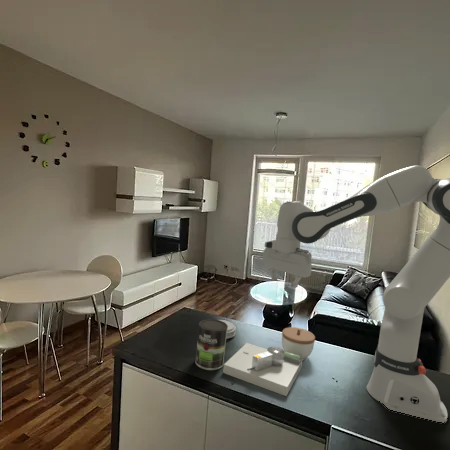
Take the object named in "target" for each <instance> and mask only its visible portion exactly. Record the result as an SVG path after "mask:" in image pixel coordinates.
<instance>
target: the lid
mask: <svg viewBox="0 0 450 450" xmlns="http://www.w3.org/2000/svg"><path fill="white" fill-rule="evenodd" d="M218 320H219V321H222V322H224V323H226V324H227V326H228V328H227V335H226V340H227V339H231V338H234V337H235V335H236V330H237V327H236V325H235V324H234V323H232V321H228V320H224V319H218Z"/></svg>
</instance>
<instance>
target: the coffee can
mask: <svg viewBox="0 0 450 450" xmlns="http://www.w3.org/2000/svg"><path fill="white" fill-rule="evenodd" d="M219 320H220V319H213V318H212V319H211V318H207V319H206V318H205V319H202V320H201V321H199V323H198V333H197V340H196V341H197V343H196V353H195V362H194V363H195V365H196V366H197V367H198V368H200V369H202V370H206V371H216V370H217V371H218V370H220V369H221V368H223V367H224V364H225V362H224V361H225V352H226V342H227V339H226V335H227V328H228V326H227V324H226V323H224V322H222V321H219Z"/></svg>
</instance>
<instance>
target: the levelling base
mask: <svg viewBox="0 0 450 450" xmlns="http://www.w3.org/2000/svg"><path fill="white" fill-rule="evenodd" d="M267 349H268V348H264V347H261V346H258V345H254V344H252V343H249V342H246V343H245V344H244V345H242V346H241V348H240V349H238V350H237V352H236V353H234V354H233V355H232V356H231V357H230V358H229V359H228V360H227V361H226V362H224V364H223V371H222V373H223V374H225V375H228V376H231V377H234V378H237V379H239V380H241V381H243V382H244V381H245V382H247V383H249V384H251V385H252V384H253V385H255V386H257V387H260V388H263V389H266V390H267V391H271V392H273V393H277V394H279V395H281V396H285V397H287V395H288V394H289V392H290V391H291V388H292V386H293V385H294V383H295V381H296V379H297V377H298V375H299V374H300V372H301V369H302V365H303V360H301V358H300V356H299V355H295V354H292V353H289V352H286V351H284V361H283V365H282V366H269V367H266V368H264V369H261V370H258V371H256V370H255V369H253V368H252V359H253V356H254V355H257V354H261V353H264V352H267Z"/></svg>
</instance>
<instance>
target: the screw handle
mask: <svg viewBox="0 0 450 450" xmlns="http://www.w3.org/2000/svg"><path fill="white" fill-rule="evenodd" d="M266 349H267V352H264V353H261V354H257V355H254V356H253V359H252V368H253V369H255V370H256V371H258V370H261V369H264V368H266V367H269V366H282V365H283V361H284V349H283V348H280V347H276V346H270V347H268V348H266Z"/></svg>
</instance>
